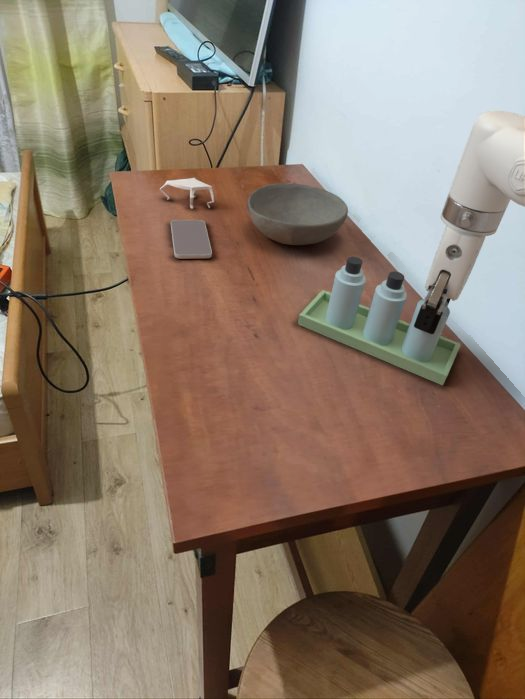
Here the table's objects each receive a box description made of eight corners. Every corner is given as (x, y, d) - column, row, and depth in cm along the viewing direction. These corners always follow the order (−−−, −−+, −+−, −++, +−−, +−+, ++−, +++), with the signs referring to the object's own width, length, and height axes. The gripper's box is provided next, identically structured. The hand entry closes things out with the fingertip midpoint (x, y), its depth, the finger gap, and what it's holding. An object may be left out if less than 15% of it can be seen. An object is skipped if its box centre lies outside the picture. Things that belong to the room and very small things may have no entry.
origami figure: (209, 194, 123) (210, 174, 120) (214, 210, 117) (215, 189, 114) (159, 194, 121) (158, 173, 117) (161, 210, 114) (160, 189, 111)
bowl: (298, 272, 100) (304, 236, 95) (224, 231, 110) (226, 196, 105) (358, 240, 113) (366, 207, 108) (287, 206, 123) (292, 173, 118)
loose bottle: (434, 349, 85) (460, 289, 77) (426, 366, 82) (452, 305, 74) (406, 338, 87) (428, 278, 79) (397, 353, 83) (419, 292, 75)
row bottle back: (358, 318, 90) (375, 259, 82) (347, 333, 86) (364, 272, 78) (332, 308, 91) (346, 249, 83) (320, 322, 88) (334, 261, 80)
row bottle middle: (395, 334, 87) (416, 274, 80) (386, 349, 84) (407, 288, 76) (368, 323, 89) (386, 263, 81) (358, 337, 86) (376, 276, 78)
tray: (456, 353, 86) (461, 343, 85) (442, 385, 79) (447, 376, 78) (320, 298, 94) (322, 289, 93) (297, 324, 88) (299, 314, 86)
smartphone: (204, 220, 111) (212, 254, 100) (204, 223, 112) (212, 259, 101) (170, 219, 110) (174, 255, 98) (170, 223, 110) (174, 259, 99)
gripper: (488, 247, 61) (438, 359, 73) (510, 200, 73) (464, 303, 85) (427, 227, 63) (389, 338, 75) (458, 185, 75) (421, 287, 87)
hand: (429, 318), depth 80 cm, fingers open, 5 cm apart
